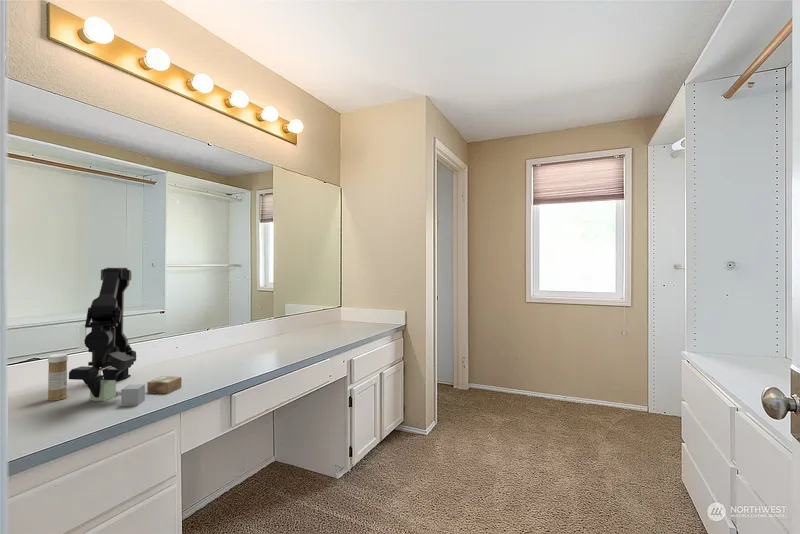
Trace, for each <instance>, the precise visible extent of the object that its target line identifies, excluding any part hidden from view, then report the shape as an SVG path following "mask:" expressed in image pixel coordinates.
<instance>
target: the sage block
mask: <svg viewBox="0 0 800 534" xmlns="http://www.w3.org/2000/svg"><path fill="white" fill-rule="evenodd" d="M116 387H117V381H116V380H101V383H100V394H99V397H98V398H95V397H94V396H93V394H92V392H91V391H90V390H89V391H90V392H89V393H90V394H89V400H90V401H91V400H94V402H105V400H106V401H107V399H108V400H110V399H112V397H113V398H115V397H116V396H117V394H116V393H117V391H116V390H117V388H116Z"/></svg>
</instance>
